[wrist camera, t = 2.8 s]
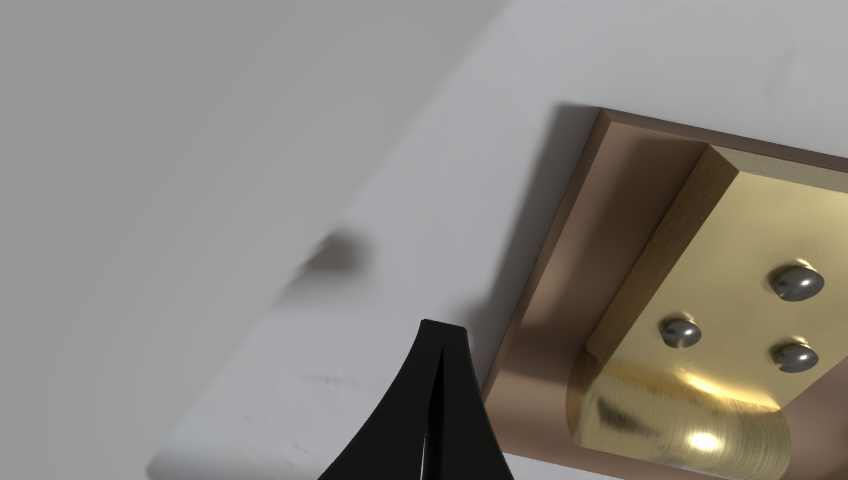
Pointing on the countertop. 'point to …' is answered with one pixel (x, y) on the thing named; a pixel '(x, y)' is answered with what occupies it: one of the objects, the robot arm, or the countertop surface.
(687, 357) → the plate
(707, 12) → the countertop surface
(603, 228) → the walnut board
